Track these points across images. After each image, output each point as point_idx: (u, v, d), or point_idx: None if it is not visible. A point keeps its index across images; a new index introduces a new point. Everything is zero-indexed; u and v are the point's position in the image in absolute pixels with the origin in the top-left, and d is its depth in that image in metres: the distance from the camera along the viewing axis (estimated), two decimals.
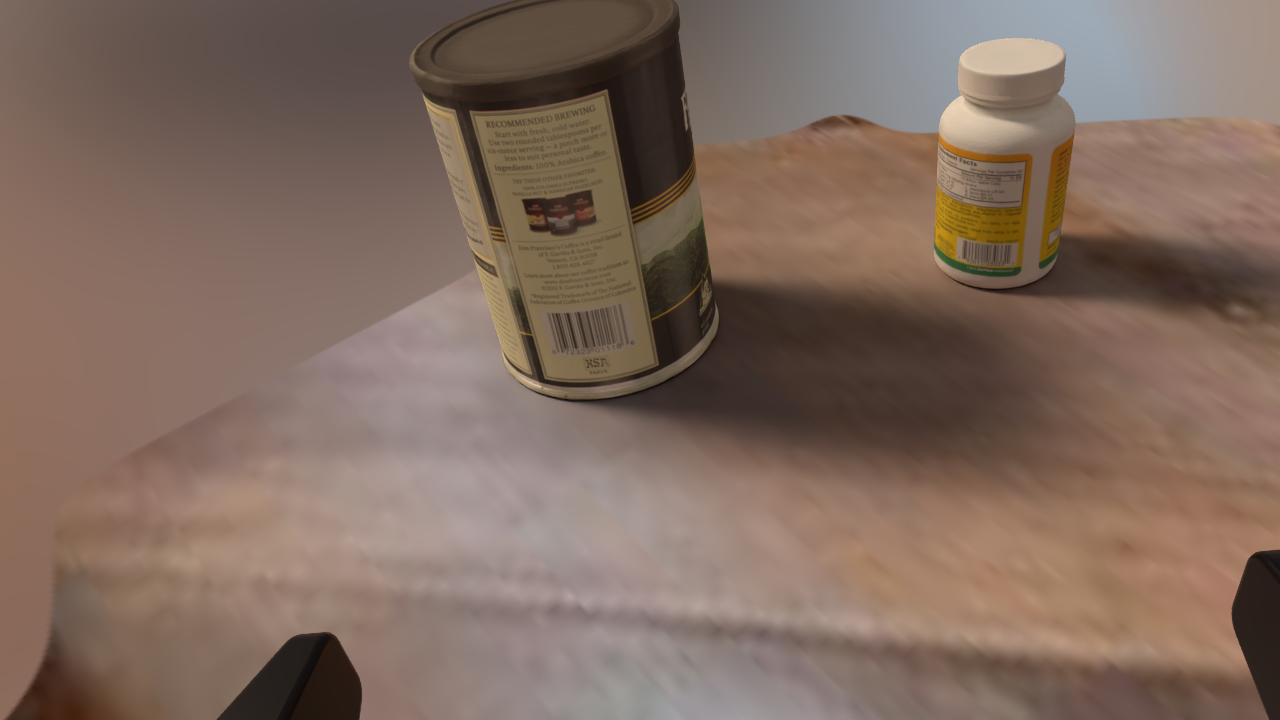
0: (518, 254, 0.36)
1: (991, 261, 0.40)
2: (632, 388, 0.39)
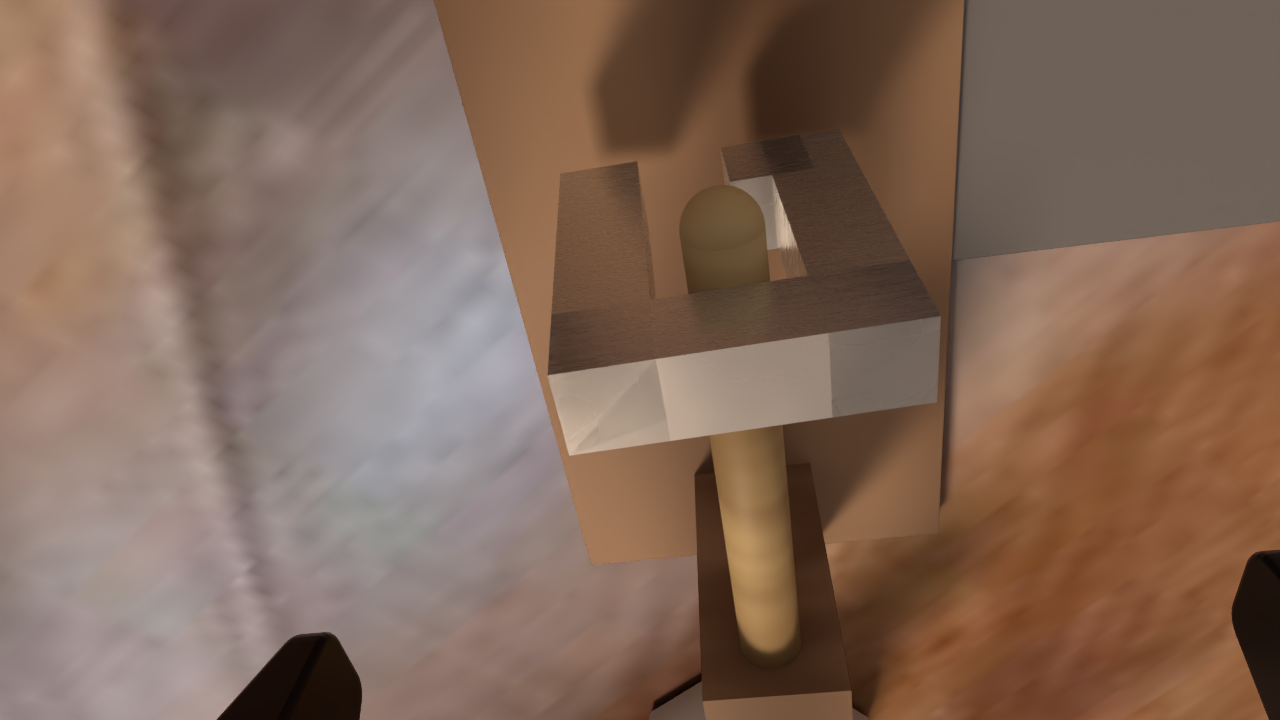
0: None
1: None
2: None
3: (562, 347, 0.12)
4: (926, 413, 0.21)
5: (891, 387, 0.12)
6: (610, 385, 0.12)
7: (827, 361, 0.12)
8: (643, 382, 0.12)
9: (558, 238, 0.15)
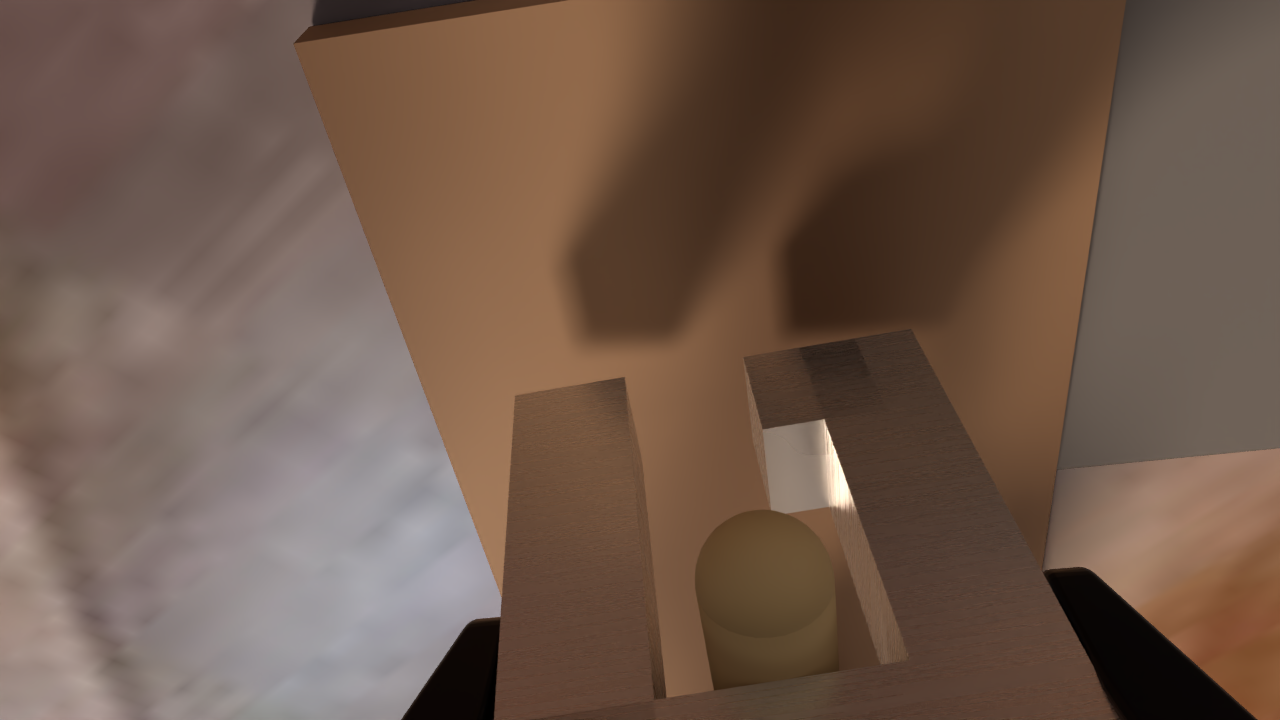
0: None
1: None
2: None
3: None
4: None
5: None
6: None
7: None
8: None
9: (509, 535, 0.10)
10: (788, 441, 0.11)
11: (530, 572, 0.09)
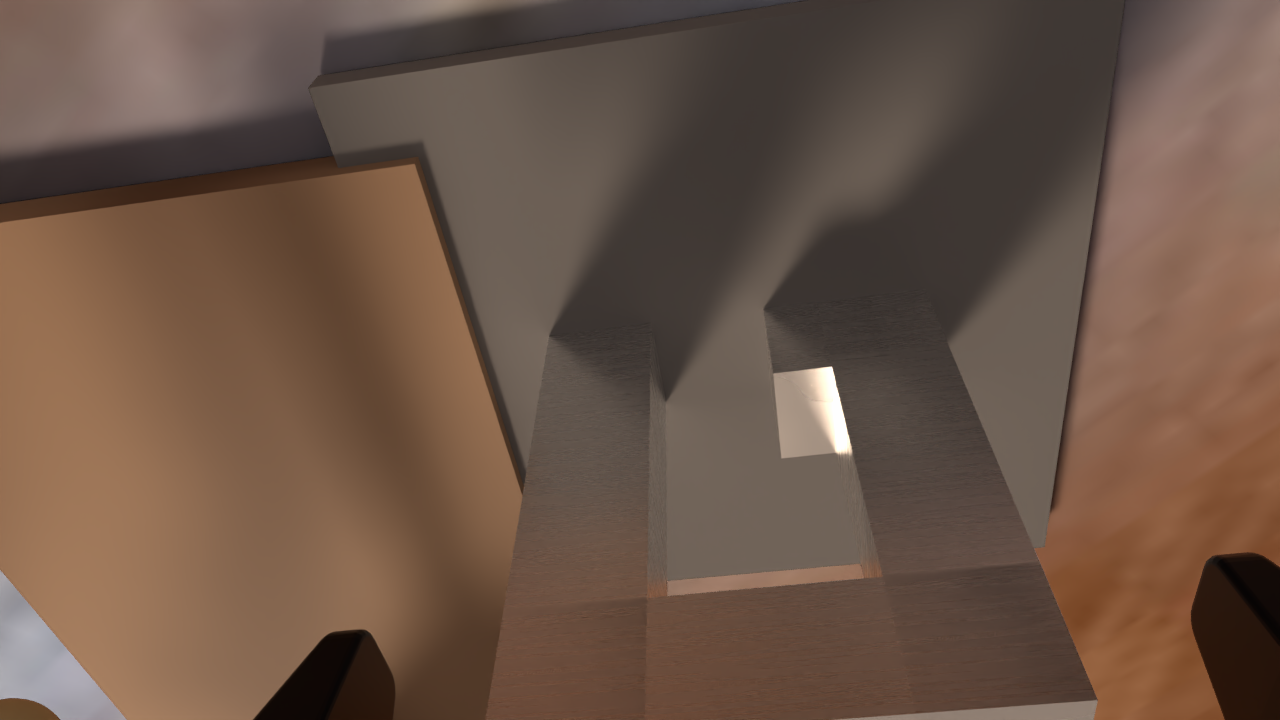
0: None
1: None
2: None
3: (510, 686, 0.08)
4: None
5: None
6: None
7: None
8: None
9: (532, 455, 0.11)
10: (797, 386, 0.11)
11: (548, 487, 0.10)
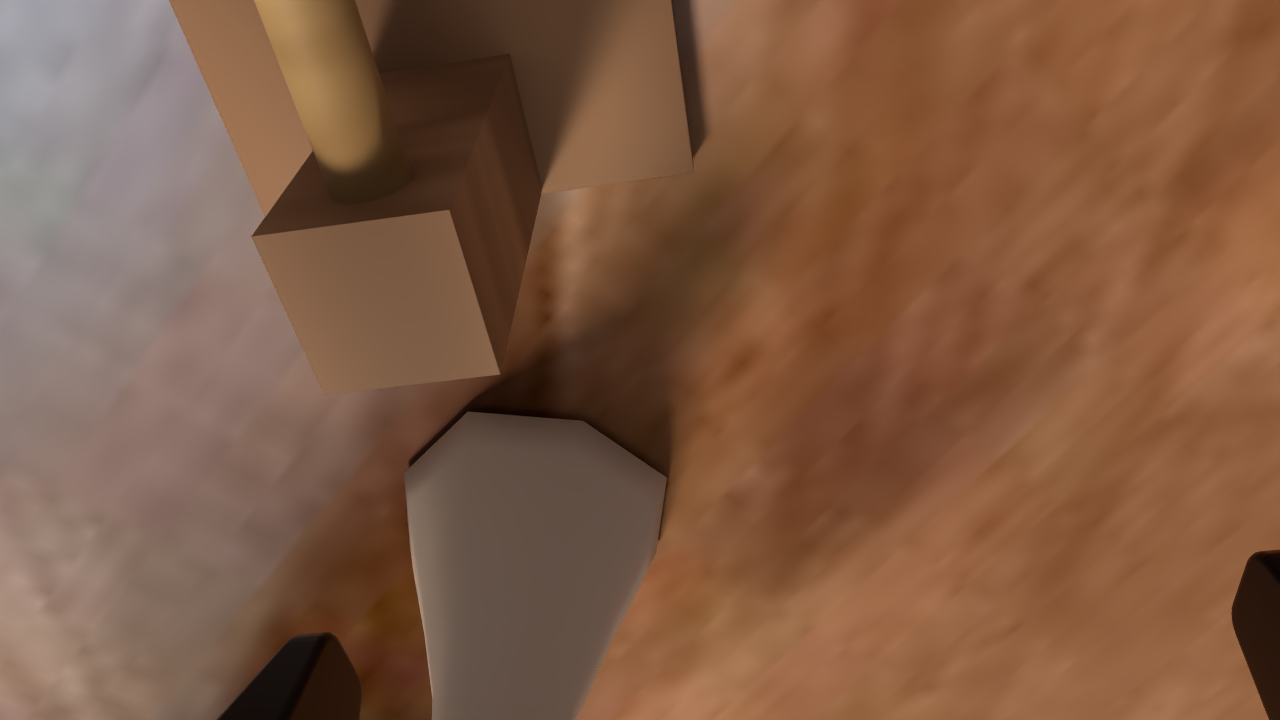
0: None
1: None
2: None
3: None
4: None
5: None
6: None
7: None
8: None
9: None
10: None
11: None
